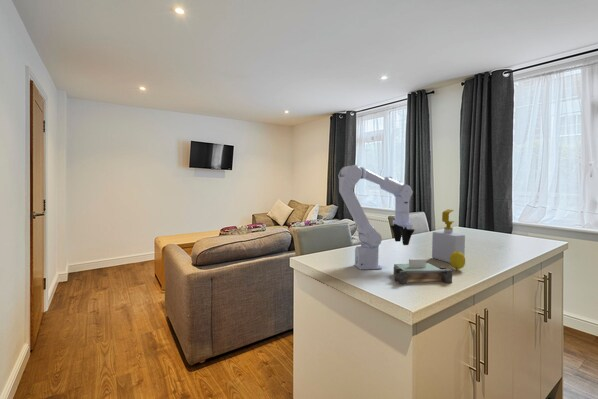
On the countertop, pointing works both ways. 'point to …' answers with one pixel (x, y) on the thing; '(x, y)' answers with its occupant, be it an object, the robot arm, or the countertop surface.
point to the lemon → (457, 260)
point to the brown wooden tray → (422, 276)
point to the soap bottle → (447, 241)
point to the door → (419, 267)
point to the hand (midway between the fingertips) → (401, 243)
